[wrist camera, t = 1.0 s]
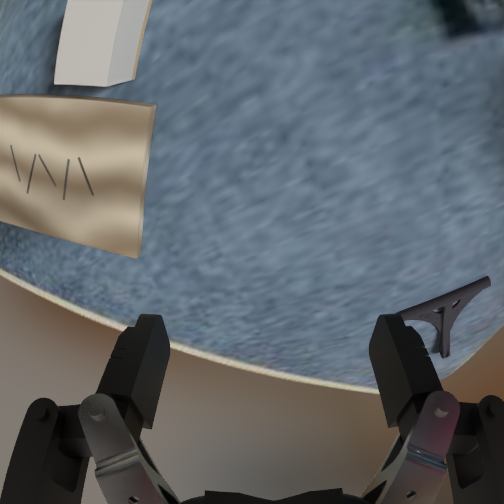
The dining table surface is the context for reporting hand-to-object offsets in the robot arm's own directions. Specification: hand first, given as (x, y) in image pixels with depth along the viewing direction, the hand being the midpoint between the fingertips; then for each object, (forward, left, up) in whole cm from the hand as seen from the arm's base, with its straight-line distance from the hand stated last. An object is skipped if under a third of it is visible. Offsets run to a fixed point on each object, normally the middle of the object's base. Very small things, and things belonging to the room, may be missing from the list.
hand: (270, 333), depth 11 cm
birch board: (+5, -22, -19) cm, 29 cm away
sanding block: (-9, -16, -19) cm, 26 cm away
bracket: (+15, +32, -20) cm, 41 cm away
